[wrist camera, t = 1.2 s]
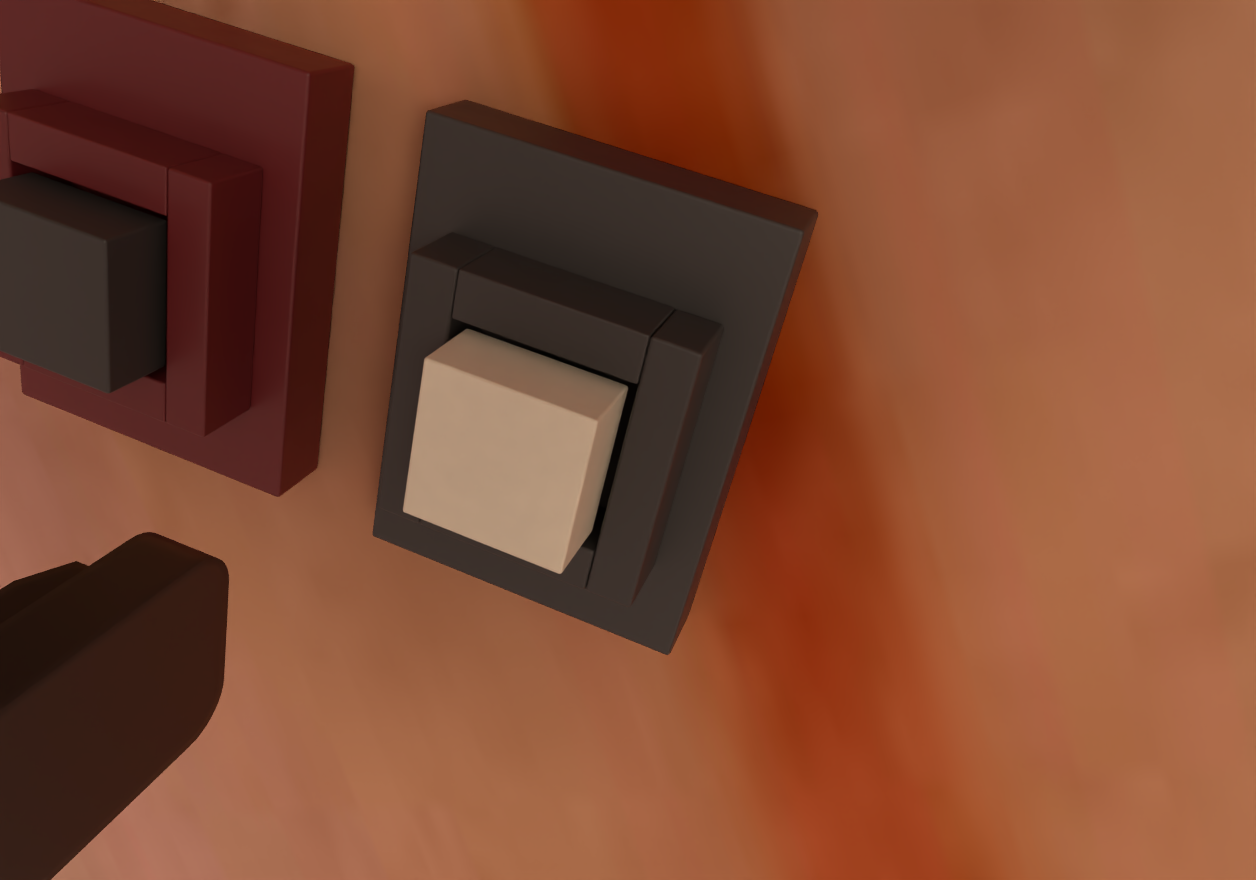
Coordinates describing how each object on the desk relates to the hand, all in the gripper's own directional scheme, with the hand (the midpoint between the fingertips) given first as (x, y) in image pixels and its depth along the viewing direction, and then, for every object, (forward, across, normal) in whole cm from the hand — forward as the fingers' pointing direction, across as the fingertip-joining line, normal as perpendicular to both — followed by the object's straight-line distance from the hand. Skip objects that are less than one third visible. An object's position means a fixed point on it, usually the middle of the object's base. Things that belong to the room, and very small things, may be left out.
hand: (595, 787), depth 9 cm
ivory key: (+14, +6, +4) cm, 15 cm away
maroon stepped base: (+17, +18, +4) cm, 25 cm away
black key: (+14, +18, +4) cm, 23 cm away
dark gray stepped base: (+17, +6, +4) cm, 19 cm away
